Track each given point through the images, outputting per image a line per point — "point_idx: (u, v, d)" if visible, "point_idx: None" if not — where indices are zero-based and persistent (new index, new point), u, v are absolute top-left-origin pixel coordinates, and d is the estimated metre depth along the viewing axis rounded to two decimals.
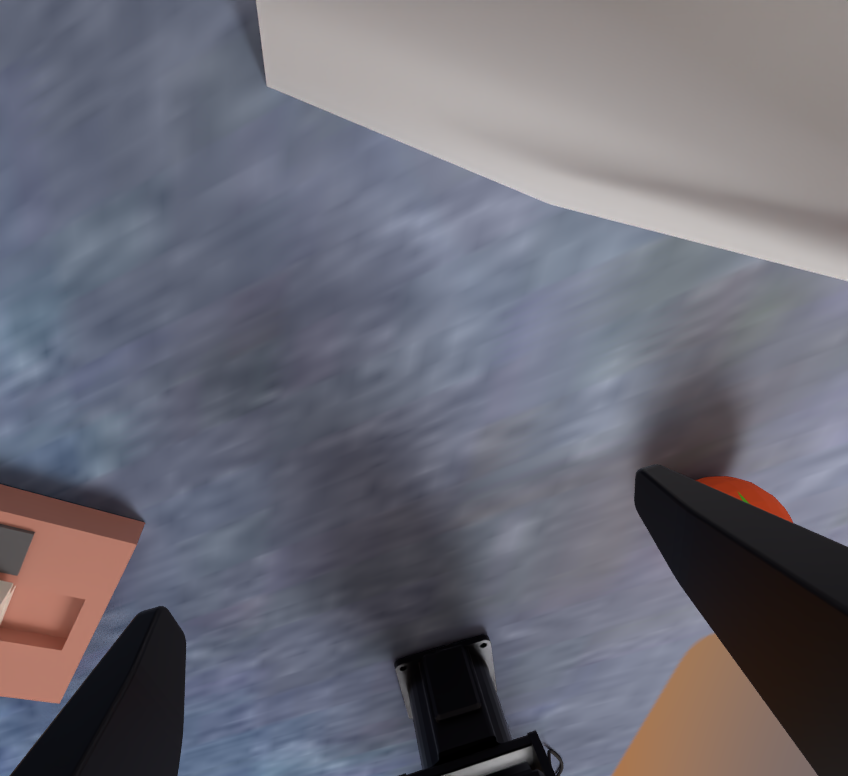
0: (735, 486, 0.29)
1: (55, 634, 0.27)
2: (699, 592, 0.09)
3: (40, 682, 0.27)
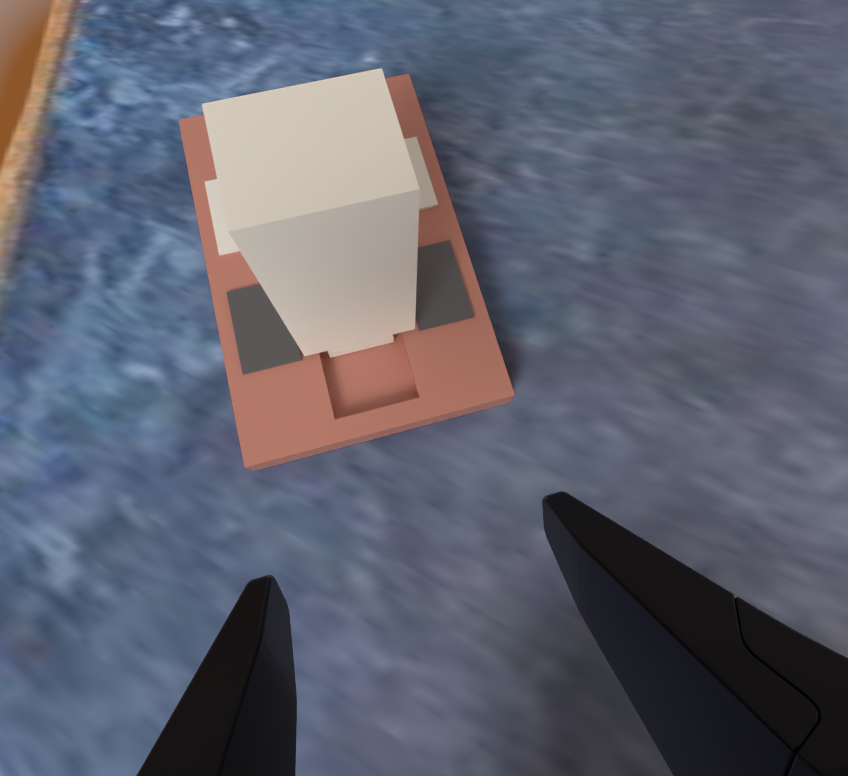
0: None
1: (337, 409, 0.23)
2: (595, 625, 0.09)
3: (273, 429, 0.22)
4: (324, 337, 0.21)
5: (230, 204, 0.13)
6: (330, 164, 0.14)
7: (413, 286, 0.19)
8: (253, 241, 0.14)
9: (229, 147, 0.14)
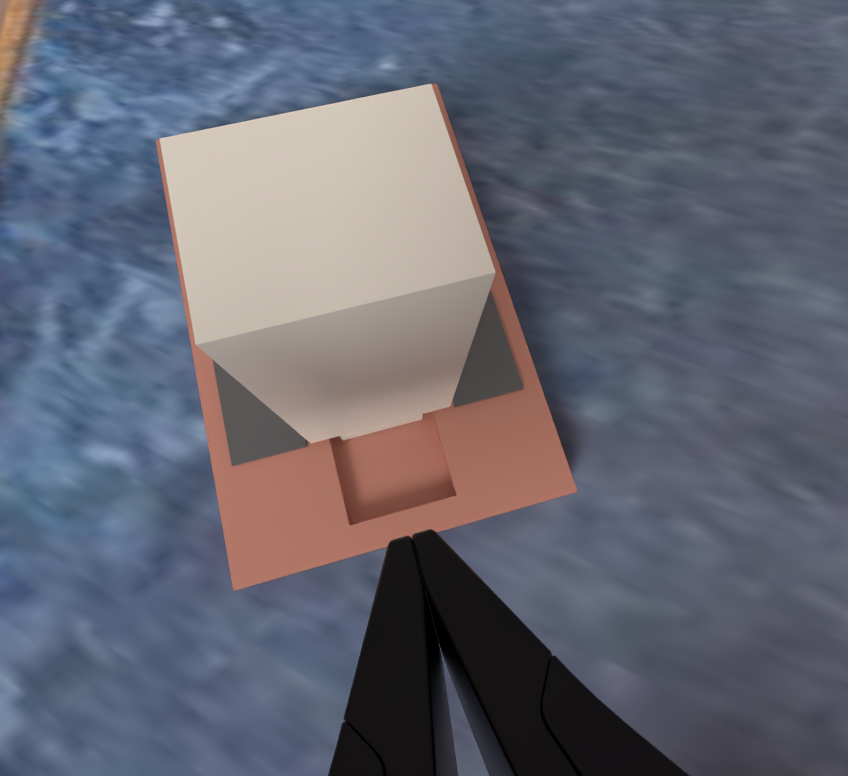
0: None
1: (352, 508, 0.18)
2: (450, 670, 0.08)
3: (270, 538, 0.17)
4: (337, 426, 0.17)
5: (200, 299, 0.08)
6: (356, 232, 0.09)
7: (458, 371, 0.14)
8: (237, 351, 0.09)
9: (200, 206, 0.09)
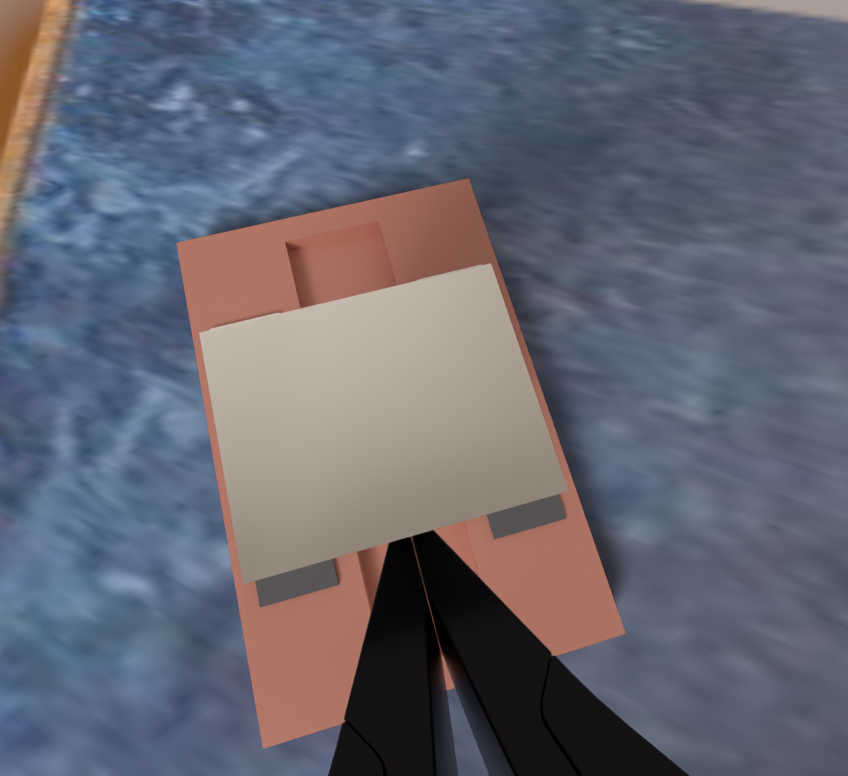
0: None
1: None
2: (450, 670, 0.08)
3: (301, 689, 0.16)
4: None
5: (247, 528, 0.08)
6: (415, 444, 0.08)
7: None
8: None
9: (244, 414, 0.08)
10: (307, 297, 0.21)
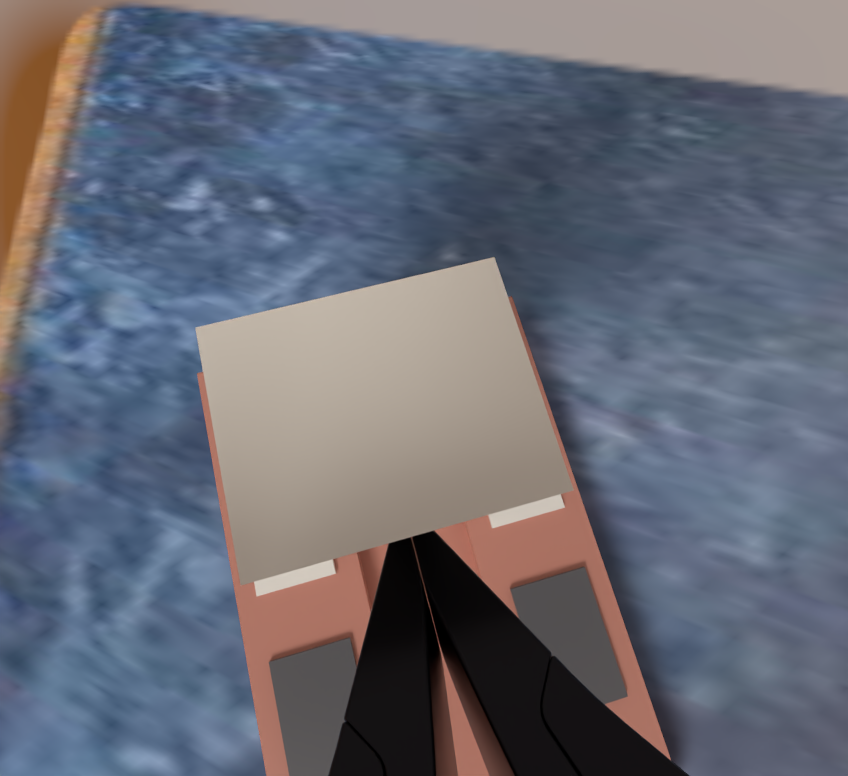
0: None
1: None
2: (450, 670, 0.08)
3: None
4: None
5: (244, 528, 0.07)
6: (416, 442, 0.08)
7: None
8: None
9: (242, 411, 0.08)
10: None
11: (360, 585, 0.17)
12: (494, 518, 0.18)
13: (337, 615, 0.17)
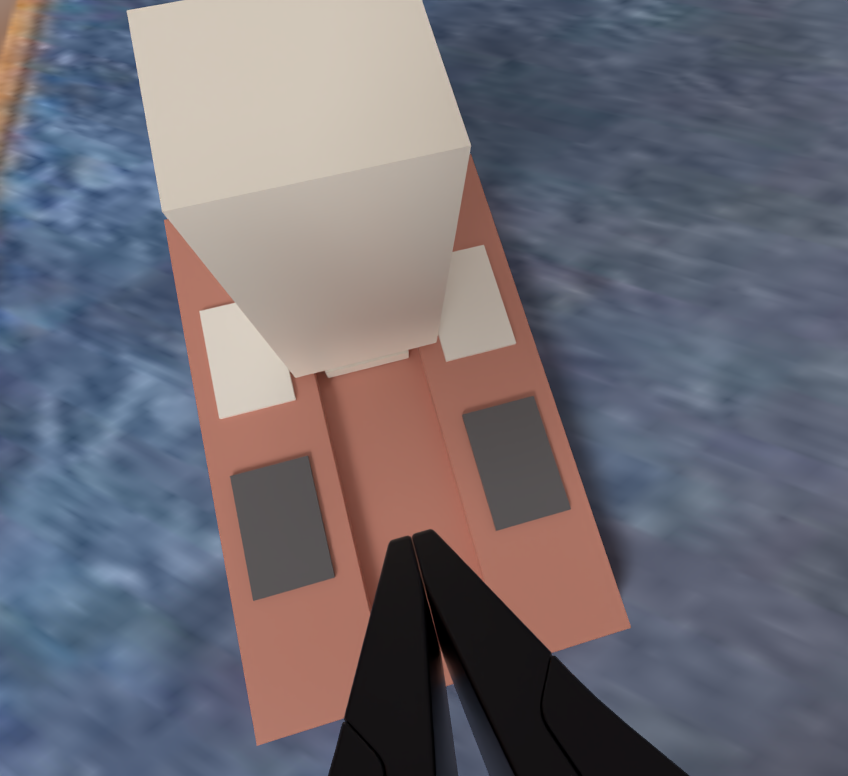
0: None
1: None
2: (450, 670, 0.08)
3: (296, 684, 0.16)
4: (320, 356, 0.16)
5: (167, 167, 0.08)
6: (328, 105, 0.09)
7: (441, 291, 0.14)
8: (207, 228, 0.09)
9: (168, 78, 0.09)
10: None
11: (319, 411, 0.18)
12: (448, 351, 0.18)
13: (296, 437, 0.18)
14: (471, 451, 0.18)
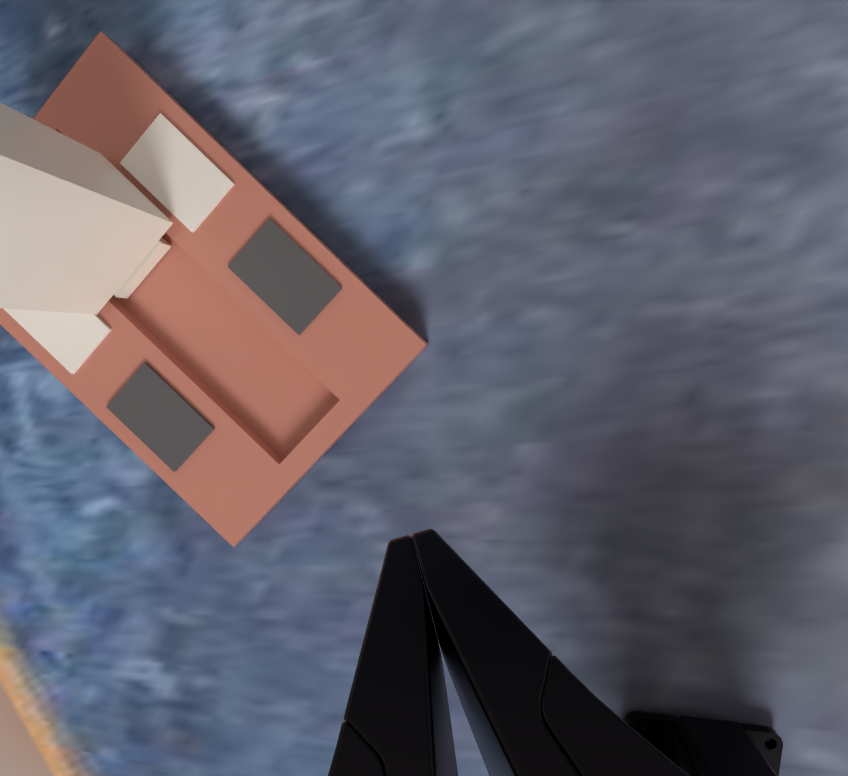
0: None
1: (277, 448, 0.22)
2: (450, 670, 0.08)
3: (233, 502, 0.22)
4: (86, 291, 0.20)
5: None
6: None
7: (94, 195, 0.17)
8: None
9: None
10: None
11: (131, 327, 0.22)
12: (188, 224, 0.21)
13: (130, 354, 0.22)
14: (250, 289, 0.21)
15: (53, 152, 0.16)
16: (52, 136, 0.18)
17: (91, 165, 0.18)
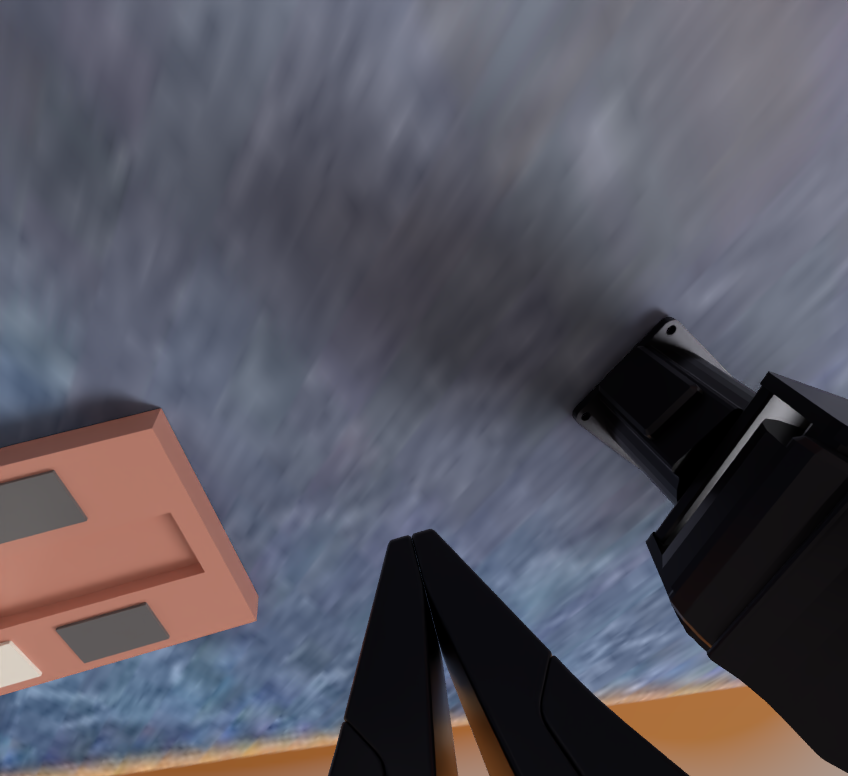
0: None
1: (193, 561, 0.24)
2: (450, 670, 0.08)
3: (220, 609, 0.25)
4: None
5: None
6: None
7: None
8: None
9: None
10: None
11: (15, 627, 0.23)
12: None
13: (43, 635, 0.24)
14: (19, 537, 0.21)
15: None
16: None
17: None
